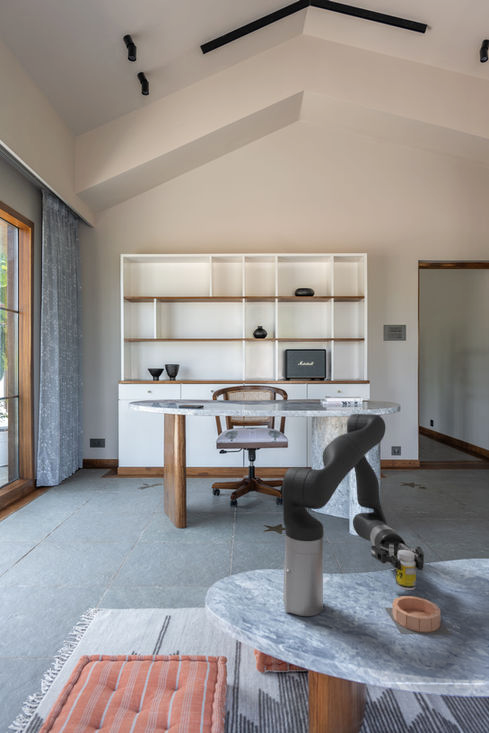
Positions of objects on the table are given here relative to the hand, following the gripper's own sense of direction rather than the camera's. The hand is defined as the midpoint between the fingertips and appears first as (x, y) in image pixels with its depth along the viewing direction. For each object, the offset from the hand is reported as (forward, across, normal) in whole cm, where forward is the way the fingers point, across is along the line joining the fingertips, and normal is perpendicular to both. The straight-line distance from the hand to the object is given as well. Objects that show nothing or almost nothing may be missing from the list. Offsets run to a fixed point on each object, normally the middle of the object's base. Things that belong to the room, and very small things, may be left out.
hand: (410, 566), depth 108 cm
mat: (+8, -2, +9) cm, 12 cm away
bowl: (+8, -2, +9) cm, 12 cm away
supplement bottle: (-3, 0, +6) cm, 7 cm away
